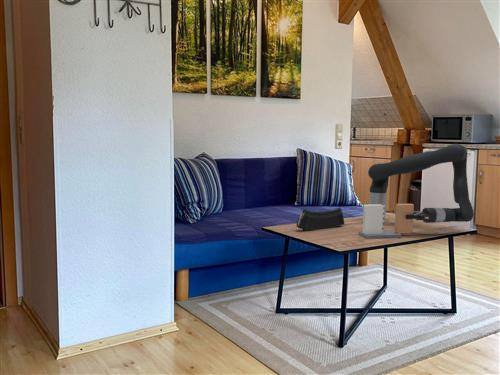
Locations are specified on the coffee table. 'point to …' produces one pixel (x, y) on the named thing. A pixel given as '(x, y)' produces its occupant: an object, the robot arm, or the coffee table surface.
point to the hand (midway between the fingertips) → (402, 215)
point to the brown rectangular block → (403, 218)
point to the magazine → (320, 219)
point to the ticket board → (375, 223)
